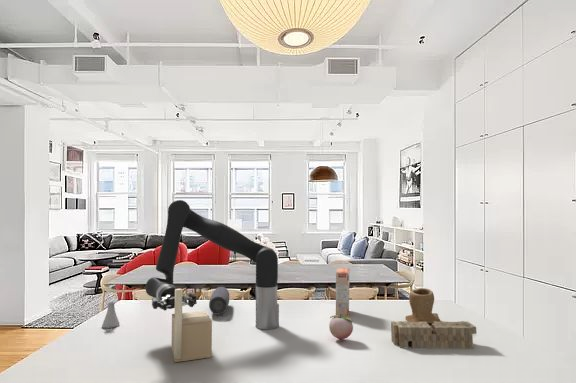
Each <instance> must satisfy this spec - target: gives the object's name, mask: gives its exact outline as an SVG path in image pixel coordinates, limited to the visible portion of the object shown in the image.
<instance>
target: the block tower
mask: <svg viewBox="0 0 576 383" xmlns="http://www.w3.org/2000/svg"><path fill="white" fill-rule="evenodd" d="M390 334H391V342H392V343H393V345H394V346H399V348H400V349H408V348H409V346H410V347H411V348H412V349H453V350H454V349H474V339H473V338H474V336H473V334H474V335H476V334H477V326H476V325H474V324H472V323H471V322H469V321H465V320H460V321H440V322H436V321H434V322H433V323H431V325H430V324H427V322H410V321H407V320H405V321H402V320H401V321H395V320H394V321H393V320H391V321H390Z"/></svg>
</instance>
